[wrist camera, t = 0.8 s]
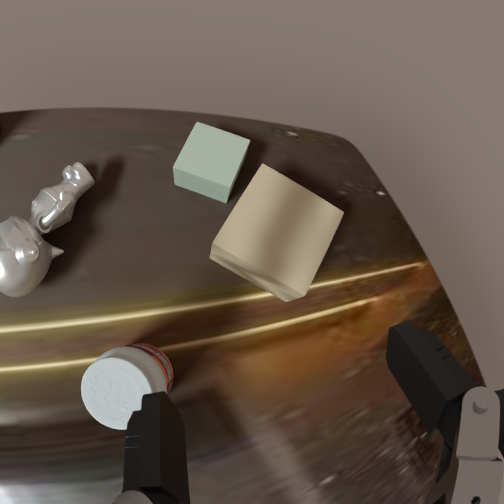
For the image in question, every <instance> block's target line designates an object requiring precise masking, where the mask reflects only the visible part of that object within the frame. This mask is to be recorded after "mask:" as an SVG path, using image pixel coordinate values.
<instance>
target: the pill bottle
mask: <svg viewBox="0 0 504 504" xmlns="http://www.w3.org/2000/svg"><path fill="white" fill-rule="evenodd" d="M172 383H173V369H172V366H171V363H170V361H169V359H168V358H167V356H166V355H165V354H164V353H163V352H162V351H161V350H159V349H158V348H156V347H154V346H152V345H149V344H144V343H137V344H130V345H126V346H120V347H115V348H113V349H110V350H108V351H106V352H105V353H103V354H102V355H101V356H100V357H99V358H98V359H97V360H96V361H95V362H94V363H93V364H91V365H90V366H89V368H88V369H87V370H86V372H85V374H84V376H83V378H82V384H81V393H82V398H83V401H84V404H85V406H86V408H87V410H88V411H89V412H90V414H91V415H92V416H93V417H94V418H95V419H96V420H97V421H99V422H100V423H102V424H103V425H105V426H108V427H110V428H114V429H127V423H128V421H129V419H130V417H131V415H132V413H133V411H137V410H141V402H142V396H143V395H144V394H149V393H155V392H160V391H164V392H166V394H167V395H168V393H169V391H170V389H171V386H172Z"/></svg>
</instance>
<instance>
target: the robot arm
mask: <svg viewBox="0 0 504 504" xmlns="http://www.w3.org/2000/svg"><path fill="white" fill-rule="evenodd" d="M0 131H1V124H0ZM386 360H387V364H388V367H389V369H390V371H391V373H392V374H393V376H394V377H395V379H396V380H397V382H398V384H399V385H400V387H401V389H402V390H403V392H404V393H405V395H406V397H407V398H408V400H409V402H410V403H411V405H412V406H413V408H414V410H415V411H416V413H417V415H418V416H419V418H420V420H421V421H422V423H423V425H424V426H425V428H426V430H427V432H428V433H429V435H430V436H432V435H434V434H436V433H438V432H440V433H441V435H442V436H443V438H442V442H441V447H440V452H439V457H438V462H437V467H436V471H435V476H434V480H433V484H432V487H431V489H430V491H429V493H428V496H427V498H426V501H425V504H498V501H499V495H500V489H501V482H502V474H503V462H502V460H501V459H499V458H498V448H499V450H500V452H501V454H502V456H503V458H504V389H502V390H498V391H493V390H491V389H489V388H487V387H479V386H478V385H477V384H476V383H475V382H474V381H473V380H472V378H471V377H470V376H469V374H468V373H467V372H466V371H465V369H464V368H463V367H462V366H461V364H460V363H459V362H458V361H457V359H456V358H455V357H454V356H452V353H451V352H450V351H449V349H448V348H447V347H445V345H444V343H443V342H442V341H441V340H440V339H439V337H438V336H437V335H435V334H433V333H432V332H430V331H428V330H426V329H423V330H421V331H419V330H418V329H417V327H416V326H415V325H414V324H413V323H412V322H411V321H409V320H408V321H405V322H403V323H400V324H398V325H395V326H393V327H390V329H389V333H388V343H387V352H386ZM126 437H127V439H126V444H125V447H126V450H125V460H124V481H123V490H122V493H121V494H120V495H118V496H117V497H116V499H115V500H114V502H113V504H190V496H189V485H188V473H187V459H186V444H185V428H184V423H183V419H182V417H181V414H180V413H179V411H178V410H177V408H176V407H175V405H174V404H173V403H172V401H171V400H170V398H169V397H168V395H167V394H166V392H164V391H160V392H155V393H149V394H144V395H143V396H142V402H141V410H137V411H133V413H132V415H131V417H130V419H129V421H128V423H127V431H126Z"/></svg>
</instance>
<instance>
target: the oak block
mask: <svg viewBox="0 0 504 504" xmlns="http://www.w3.org/2000/svg"><path fill="white" fill-rule="evenodd" d="M343 214H344V212H343V211H341V210H340V209H338V208H337V207H335V206H333V205H332V204H330V203H329V202H327V201H325V200H324V199H322V198H321V197H319V196H317V195H316V194H314V193H312V192H311V191H309V190H307V189H306V188H304V187H302V186H301V185H299V184H297V183H296V182H294V181H292V180H290V179H289V178H287V177H285V176H284V175H282V174H280V173H278V172H277V171H275V170H273V169H271V168H270V167H268V166H266V165H264V164H263V163H262V165H261V166H260V168H259V169H258V171H257V173H256V174H255V176H254V177H253V179H252V180H251V182H250V184H249V185H248V187H247V188H246V190H245V191H244V193H243V195H242V196H241V198H240V199H239V201H238V202H237V204H236V206H235V207H234V209H233V210H232V212H231V214H230V215H229V217H228V219H227V220H226V222H225V223H224V225H223V227H222V228H221V230H220V231H219V233H218V235H217V236H216V238H215V240H214V241H213V243H212V248H211V254H210V259H212V260H214V261H215V262H217V263H219V264H220V265H222V266H224V267H226V268H227V269H229V270H231V271H233V272H234V273H236V274H238V275H239V276H241V277H243V278H245V279H246V280H248V281H250V282H252V283H253V284H255V285H257V286H259V287H260V288H262V289H264V290H266V291H267V292H269V293H271V294H273V295H274V296H276V297H278V298H280V299H282V300H283V301H285V302H288V301H291V300H294V299H297V298H300V297H303V296H305V295H306V293H307V290H308V288H309V286H310V284H311V282H312V280H313V278H314V276H315V274H316V272H317V270H318V268H319V266H320V264H321V262H322V260H323V257H324V255H325V253H326V251H327V249H328V247H329V245H330V243H331V240H332V238H333V236H334V234H335V232H336V230H337V227H338V225H339V223H340V221H341V219H342V216H343Z"/></svg>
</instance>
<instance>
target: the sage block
mask: <svg viewBox="0 0 504 504" xmlns="http://www.w3.org/2000/svg"><path fill="white" fill-rule="evenodd" d="M249 143H250V140H249V139H246V138H243V137H240V136H237V135H235V134H232V133H229V132H226V131H223V130H220V129H217V128H214V127H211V126H208V125H205V124H202V123H199V122H197V123H196V124H195V126H194V128H193V130H192V132H191V134H190V136H189V137H188V139H187V141H186V143H185V145H184V147H183V149H182V151H181V153H180V155H179V156H178V158H177V160H176V162H175V164H174V166H173V172H174V181H175V185H177V186H180V187H183V188H186V189H189V190H191V191H194V192H197V193H200V194H202V195H205V196H208V197H211V198H213V199H216V200H219V201H221V202H224V203H227V201H228V198H229V196H230V193H231V191H232V188H233V186H234V183H235V181H236V178H237V176H238V174H239V171H240V169H241V166H242V164H243V162H244V159H245V156H246V153H247V149H248V146H249Z"/></svg>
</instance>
